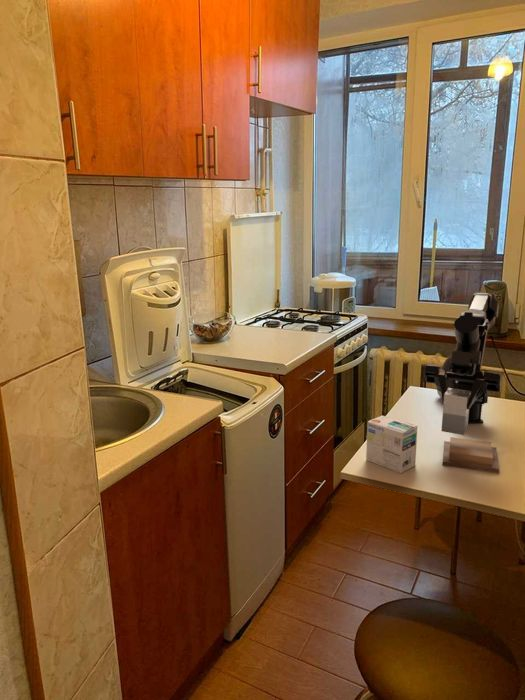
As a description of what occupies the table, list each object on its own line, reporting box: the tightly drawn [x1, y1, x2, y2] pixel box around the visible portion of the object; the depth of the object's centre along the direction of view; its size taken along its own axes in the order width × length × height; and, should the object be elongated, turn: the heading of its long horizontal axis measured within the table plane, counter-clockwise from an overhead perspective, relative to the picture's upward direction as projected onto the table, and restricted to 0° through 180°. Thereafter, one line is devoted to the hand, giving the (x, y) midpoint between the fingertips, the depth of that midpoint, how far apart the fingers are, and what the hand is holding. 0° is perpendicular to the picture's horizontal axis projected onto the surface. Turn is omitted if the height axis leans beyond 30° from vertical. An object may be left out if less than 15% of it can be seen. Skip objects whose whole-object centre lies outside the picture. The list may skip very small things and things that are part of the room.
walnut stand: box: [441, 437, 500, 474], centre depth 138 cm, size 13×13×3 cm
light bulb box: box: [365, 415, 418, 474], centre depth 135 cm, size 11×7×11 cm, turn 43°
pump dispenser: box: [435, 355, 458, 399], centre depth 179 cm, size 10×10×15 cm
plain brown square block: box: [440, 388, 471, 436], centre depth 138 cm, size 6×6×10 cm
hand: (455, 406), depth 136 cm, fingers closed on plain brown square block, 5 cm apart
